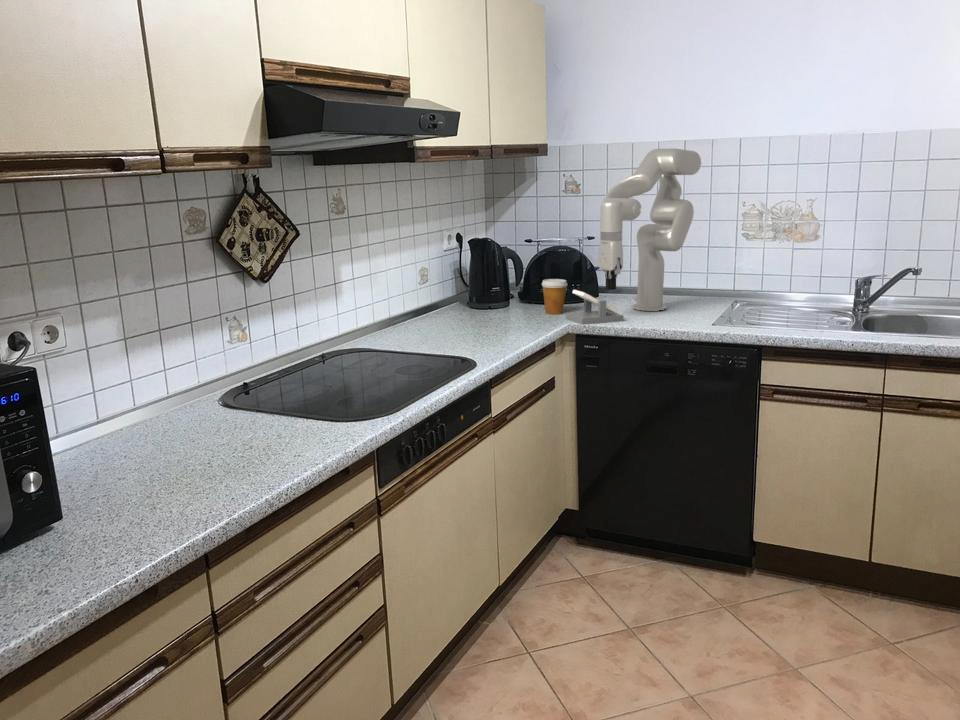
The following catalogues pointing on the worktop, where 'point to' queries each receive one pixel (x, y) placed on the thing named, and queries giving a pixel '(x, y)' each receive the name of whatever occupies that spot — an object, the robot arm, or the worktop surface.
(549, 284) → the disposable coffee cup
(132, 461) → the worktop surface
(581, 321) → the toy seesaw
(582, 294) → the breaker rocker
